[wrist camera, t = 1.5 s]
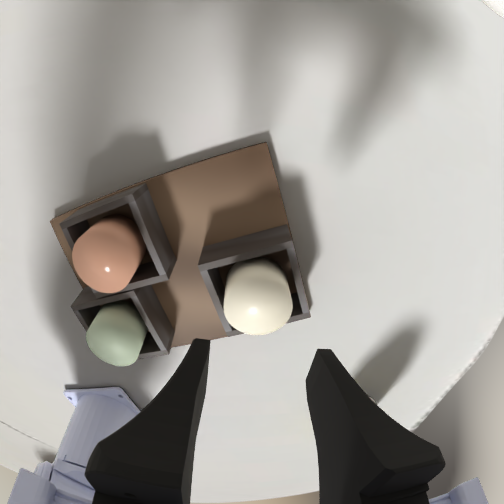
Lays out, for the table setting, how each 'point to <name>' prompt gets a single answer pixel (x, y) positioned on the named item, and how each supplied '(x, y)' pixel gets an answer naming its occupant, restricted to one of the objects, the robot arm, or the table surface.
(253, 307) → the cream button
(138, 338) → the sage button
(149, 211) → the button panel
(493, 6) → the flower in vase
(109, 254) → the terracotta button
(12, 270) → the table surface
